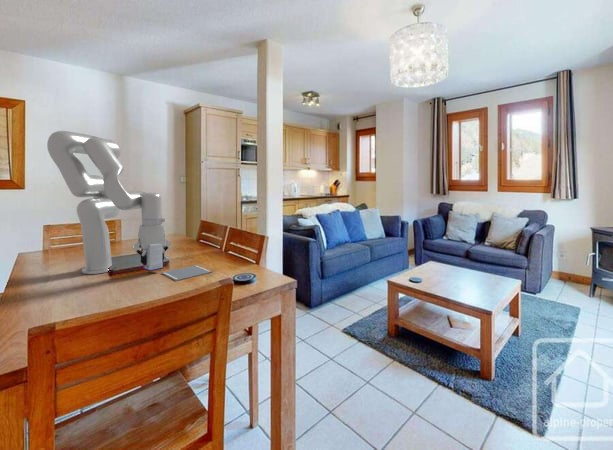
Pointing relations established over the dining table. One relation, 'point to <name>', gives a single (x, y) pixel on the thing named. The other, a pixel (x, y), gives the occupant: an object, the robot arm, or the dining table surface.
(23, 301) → the dining table surface
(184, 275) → the mat
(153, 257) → the supplement box
